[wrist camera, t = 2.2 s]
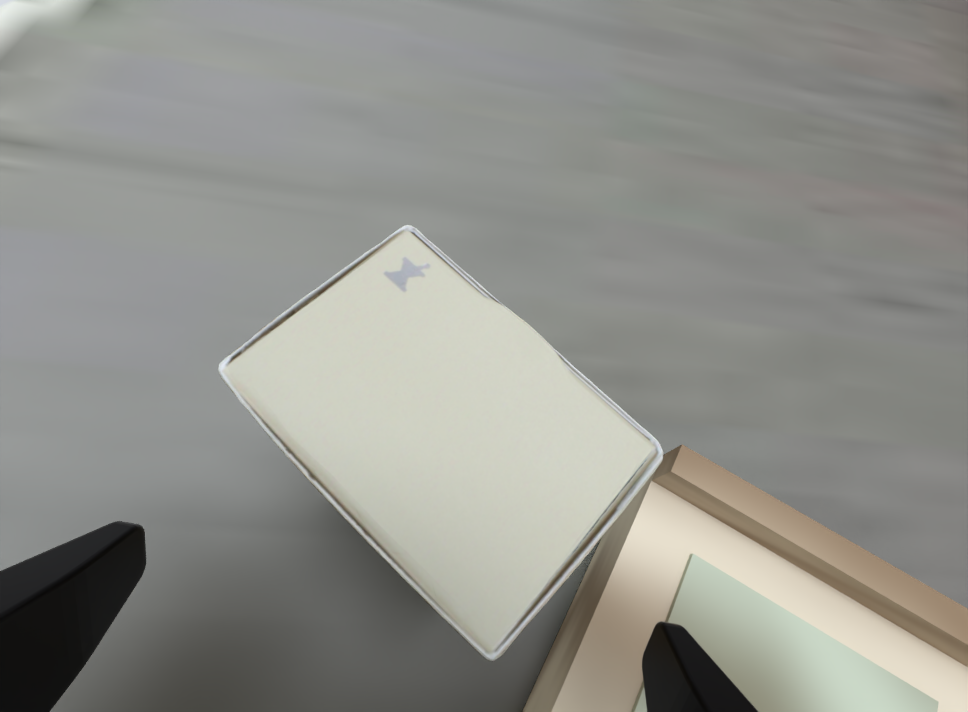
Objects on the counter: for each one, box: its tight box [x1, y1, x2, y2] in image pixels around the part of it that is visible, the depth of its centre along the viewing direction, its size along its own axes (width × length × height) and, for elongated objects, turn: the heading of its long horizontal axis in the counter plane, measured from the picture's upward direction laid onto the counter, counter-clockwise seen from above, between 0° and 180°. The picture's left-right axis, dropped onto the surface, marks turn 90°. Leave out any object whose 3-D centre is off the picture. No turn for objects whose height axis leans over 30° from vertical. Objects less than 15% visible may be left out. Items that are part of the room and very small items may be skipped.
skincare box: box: [218, 225, 663, 661], centre depth 14 cm, size 6×4×12 cm
